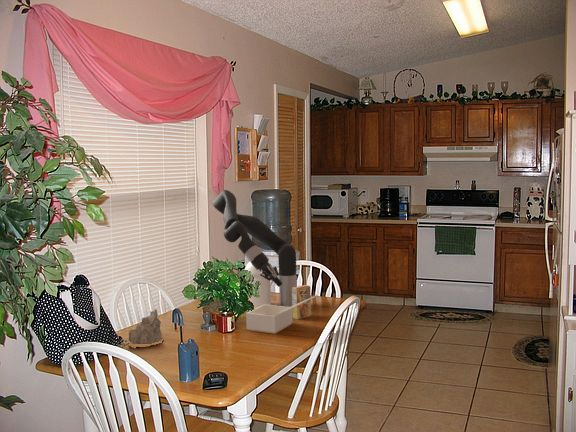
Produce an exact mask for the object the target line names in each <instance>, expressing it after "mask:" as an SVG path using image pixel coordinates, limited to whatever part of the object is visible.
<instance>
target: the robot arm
mask: <svg viewBox="0 0 576 432" xmlns="http://www.w3.org/2000/svg"><path fill="white" fill-rule="evenodd" d="M213 200H214V201H213V202H212V206H213V207H214V209H216V211H218V212H219V213H221V214H222V215H223V222H224V227H223V236H224V239H225V240H226V241H227V242H229V243H235V242H237V240H239V239H240V241H239V242H238V249H239V250H240V251H241V253H243V255H244V256H245V258H246V260H247V261H248V262H249V261H250V263H251V264H252V265H253V266H254V267H255V268H256V270H260V271H261V274H260V276H262V277H264V278H265V279H267V280H269V281H270V282H273V283H275V285H276V286H277V288H278V287H279V288H278V289H279V290H278V291H279V306H285V307H291V306H292V288H293V287H298V285H297V250H296V249H295V247H294V246H293V244H291V243H289V242H287V241H286V240H284V239H283V238H281V237H280V236H278V235H277V234H276V233H275V232H274V231H273V230H272V229H271V228H270V227H269V226H268V225H267V224H265V223H264V221H261V219H259V218H258V217H256V216H253V215H247V214H240V213H238V212H237V211H238V210H237V197H236V196H235V194H234V193H233V192H232V191H230V190H228V189H223V190H222V191H220V192H219V194H218V196H217V197H216V198H215V199H213ZM251 237H253V238H254V239H256V241H259V242H260V243H262V244H264V245H266V246H268V247H269V248H270V249H271V250H272V251H273V252H274V253H276V255H277V257H278V268H277V266H275V265H274V266H273V265H272V264H270V262H269V260H270V259H269V258H268V256H267V255H266V254H265V253H264V252H263V251H262V249H261V248H260V247H259V246H258V245H256V243H255V242H254V241H253V239H252V238H251Z"/></svg>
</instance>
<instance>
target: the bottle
mask: <svg viewBox="0 0 576 432" xmlns="http://www.w3.org/2000/svg"><path fill="white" fill-rule="evenodd" d="M244 270H248V271H251V272H252V275H253V277H254V281H253V283H254V284H255V283H256V281H260V283H261V285H260V287H259V289H258V290H259V295H260V297H259V298H256V297H254V296H252V297H251V298H249V300H250V301H251V302H252V303H253V305H254V309H256V308H258V307H260V306H262V305H264V304H266V305H272V291H271V288H272V287H271V281H269V280H267V279H265V278H264V277H262V276H260V274H261V271H260V270H256V268H255V267H254V266H253V265H252V264H251V263H250V261H249V260H248V262H247V263H246V265H245V268H244Z"/></svg>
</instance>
